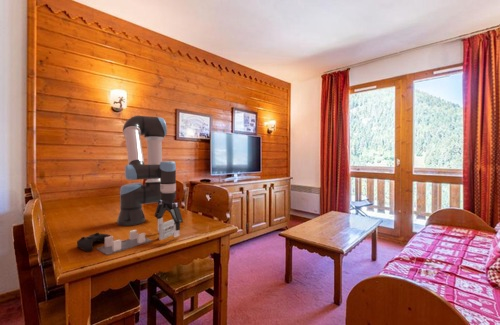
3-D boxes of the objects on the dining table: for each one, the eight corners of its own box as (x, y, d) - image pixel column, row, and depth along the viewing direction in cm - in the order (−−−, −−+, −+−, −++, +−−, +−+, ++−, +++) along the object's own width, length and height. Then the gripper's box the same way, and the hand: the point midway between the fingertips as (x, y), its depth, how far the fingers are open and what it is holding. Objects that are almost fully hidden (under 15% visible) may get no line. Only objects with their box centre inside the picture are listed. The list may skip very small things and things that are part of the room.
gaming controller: (90, 243, 102) (71, 236, 104) (88, 256, 102) (69, 250, 104) (116, 232, 115) (98, 226, 117) (114, 244, 116) (96, 238, 118)
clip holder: (96, 249, 105) (96, 239, 105) (140, 236, 121) (140, 227, 121) (107, 255, 99) (106, 244, 99) (151, 241, 116) (151, 231, 115)
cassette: (174, 232, 129) (174, 218, 128) (177, 233, 128) (177, 218, 128) (158, 239, 118) (158, 224, 117) (161, 240, 117) (161, 224, 117)
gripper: (147, 190, 126) (147, 230, 127) (177, 195, 111) (177, 241, 112) (160, 188, 132) (160, 227, 133) (190, 193, 118) (190, 236, 118)
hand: (168, 233), depth 123 cm, fingers open, 13 cm apart
